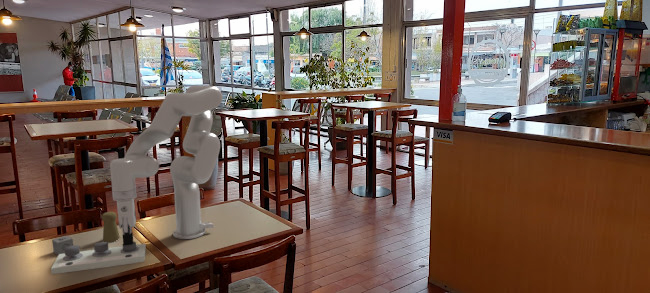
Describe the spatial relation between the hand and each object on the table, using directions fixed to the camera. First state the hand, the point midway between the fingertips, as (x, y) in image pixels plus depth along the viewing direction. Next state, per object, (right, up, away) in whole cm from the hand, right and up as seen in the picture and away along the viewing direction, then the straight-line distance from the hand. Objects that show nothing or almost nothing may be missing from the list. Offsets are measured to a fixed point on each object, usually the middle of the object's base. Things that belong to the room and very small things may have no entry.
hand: (128, 244), depth 159 cm
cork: (-13, -2, +16) cm, 21 cm away
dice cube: (-25, -4, +4) cm, 26 cm away
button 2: (0, -2, +1) cm, 2 cm away
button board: (-8, -5, -3) cm, 10 cm away
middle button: (-8, -1, -3) cm, 9 cm away
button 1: (-17, -2, -5) cm, 18 cm away
